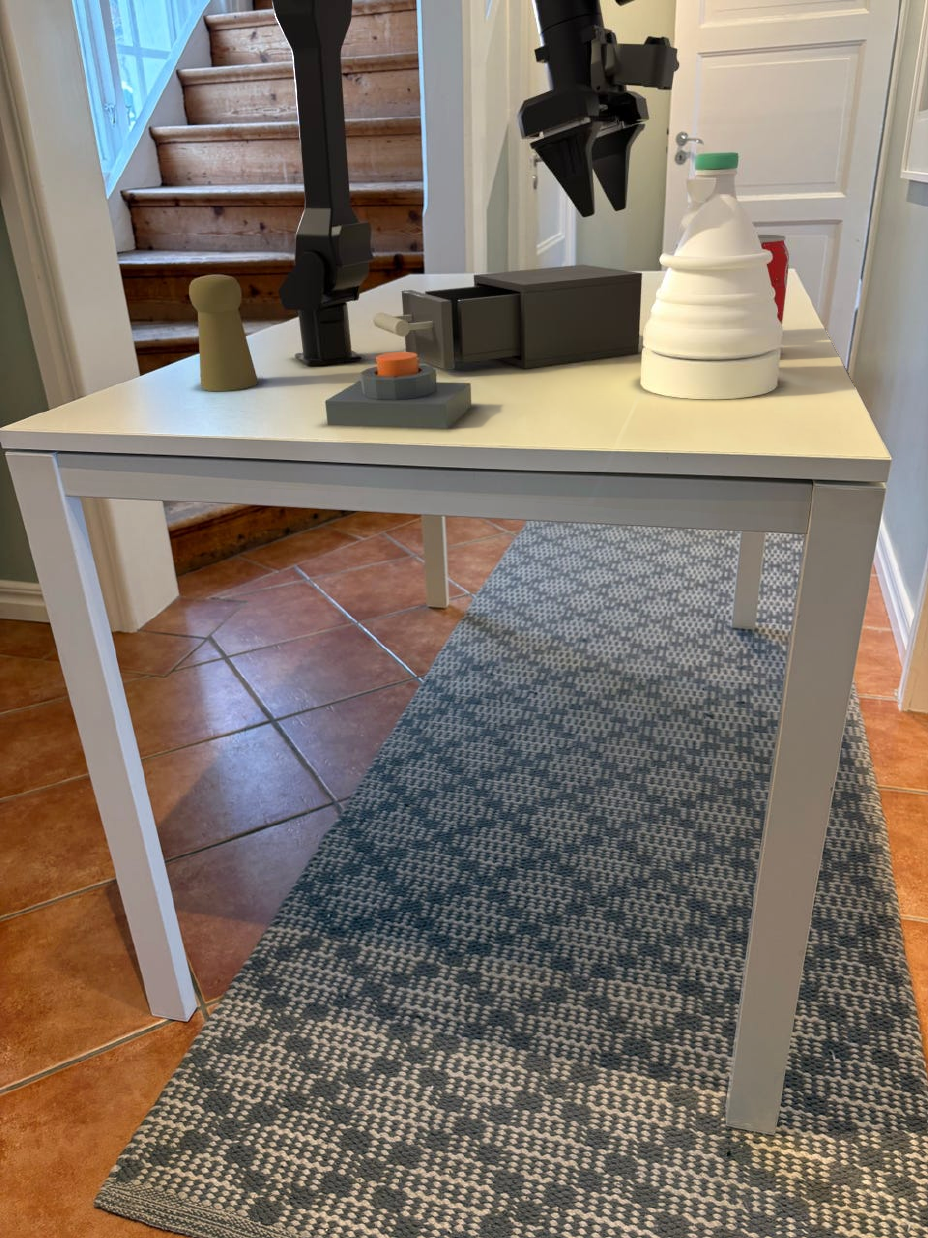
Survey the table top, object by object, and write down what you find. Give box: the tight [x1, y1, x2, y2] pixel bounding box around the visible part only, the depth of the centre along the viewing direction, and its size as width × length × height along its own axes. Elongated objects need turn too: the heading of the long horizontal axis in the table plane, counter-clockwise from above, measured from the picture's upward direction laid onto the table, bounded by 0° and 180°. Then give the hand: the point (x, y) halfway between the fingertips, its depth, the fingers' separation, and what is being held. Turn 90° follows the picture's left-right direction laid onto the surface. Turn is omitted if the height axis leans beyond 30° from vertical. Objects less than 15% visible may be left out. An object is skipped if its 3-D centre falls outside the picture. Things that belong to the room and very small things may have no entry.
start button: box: [375, 351, 419, 376], centre depth 79 cm, size 4×4×2 cm
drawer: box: [373, 285, 522, 371], centre depth 99 cm, size 18×11×7 cm, turn 114°
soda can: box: [757, 234, 790, 326], centre depth 96 cm, size 7×7×12 cm
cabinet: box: [473, 264, 643, 370], centre depth 103 cm, size 15×13×9 cm
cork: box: [188, 274, 259, 392], centre depth 94 cm, size 6×6×11 cm
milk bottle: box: [675, 151, 739, 250], centre depth 103 cm, size 8×8×20 cm
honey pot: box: [639, 178, 784, 400], centre depth 83 cm, size 13×13×18 cm
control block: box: [324, 363, 472, 430], centre depth 80 cm, size 11×8×4 cm
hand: (605, 212), depth 85 cm, fingers open, 9 cm apart
